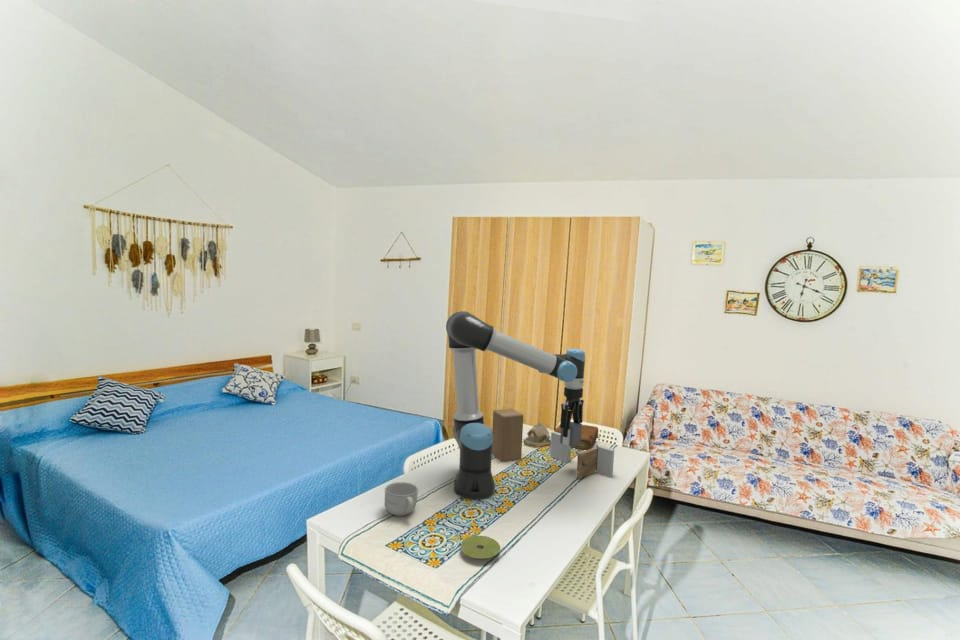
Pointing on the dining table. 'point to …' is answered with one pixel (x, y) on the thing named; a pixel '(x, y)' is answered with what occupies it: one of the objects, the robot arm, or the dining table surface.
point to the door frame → (564, 454)
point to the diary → (585, 437)
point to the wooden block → (507, 434)
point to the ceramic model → (537, 436)
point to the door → (587, 462)
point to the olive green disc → (480, 547)
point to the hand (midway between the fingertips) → (570, 442)
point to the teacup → (400, 498)
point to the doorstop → (573, 434)
